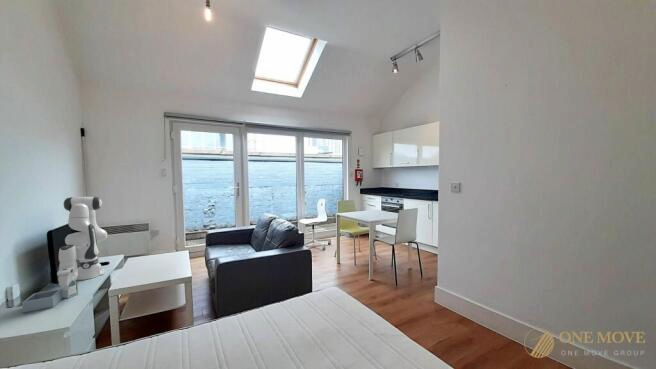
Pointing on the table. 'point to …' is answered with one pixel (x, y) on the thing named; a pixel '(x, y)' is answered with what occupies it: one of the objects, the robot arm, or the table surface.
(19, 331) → the table surface
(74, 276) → the syrup box
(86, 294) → the table surface
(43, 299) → the crate
